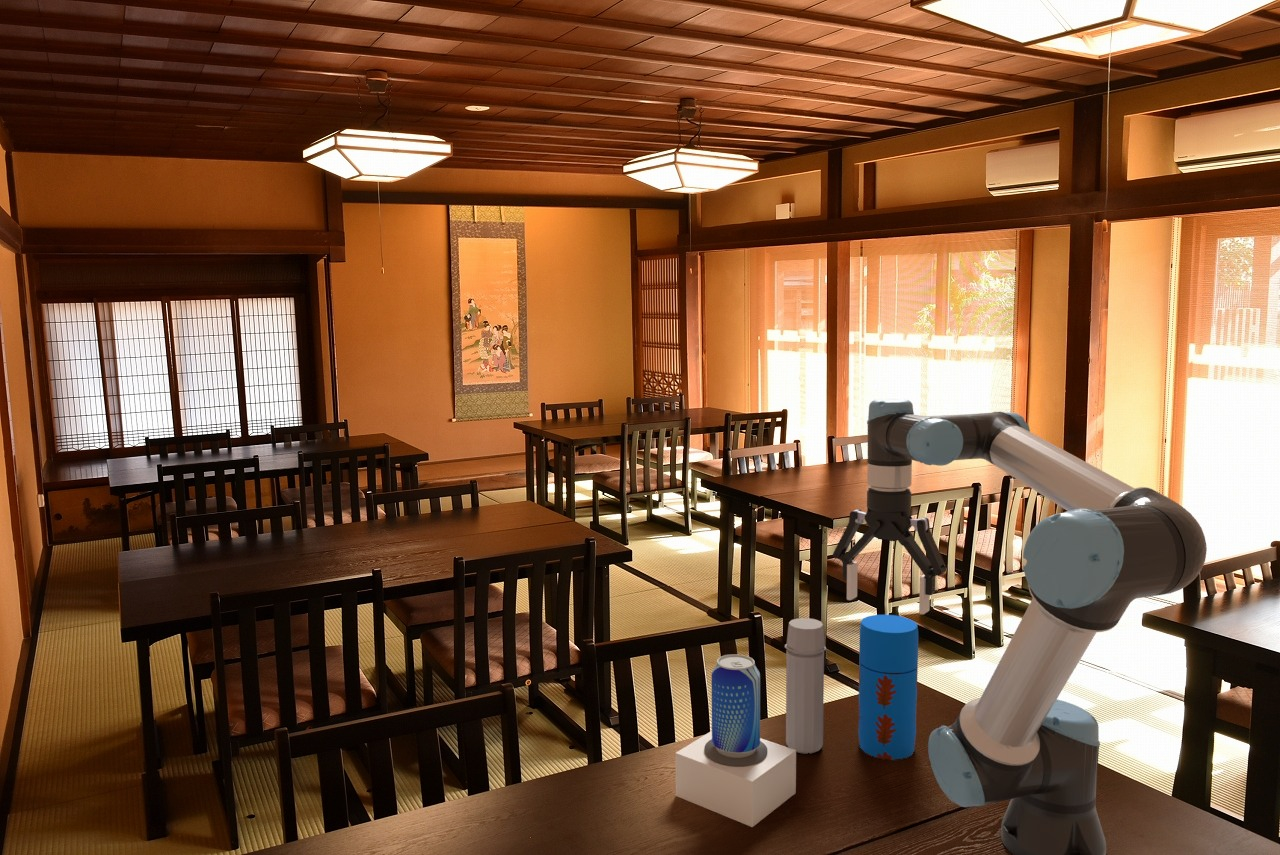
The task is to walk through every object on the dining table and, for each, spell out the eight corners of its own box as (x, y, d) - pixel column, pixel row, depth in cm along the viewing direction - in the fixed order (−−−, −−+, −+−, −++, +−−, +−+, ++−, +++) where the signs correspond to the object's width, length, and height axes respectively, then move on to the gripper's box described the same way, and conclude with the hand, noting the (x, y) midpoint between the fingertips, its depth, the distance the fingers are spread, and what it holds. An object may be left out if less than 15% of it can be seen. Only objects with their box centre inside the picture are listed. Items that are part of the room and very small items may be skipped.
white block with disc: (795, 792, 163) (796, 747, 162) (752, 827, 152) (752, 778, 151) (721, 765, 173) (721, 722, 172) (675, 795, 163) (675, 750, 162)
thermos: (856, 756, 176) (858, 630, 173) (859, 731, 186) (861, 612, 183) (915, 763, 173) (918, 635, 170) (915, 738, 183) (918, 617, 180)
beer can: (704, 753, 160) (703, 665, 158) (722, 734, 167) (722, 649, 165) (749, 764, 156) (749, 673, 154) (766, 743, 163) (766, 656, 162)
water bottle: (824, 757, 176) (826, 631, 173) (783, 754, 177) (783, 628, 174) (824, 735, 185) (826, 615, 182) (785, 732, 186) (786, 613, 183)
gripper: (967, 491, 156) (964, 612, 159) (834, 477, 172) (833, 587, 174) (951, 498, 151) (948, 624, 153) (814, 483, 166) (814, 597, 169)
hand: (887, 605), depth 164 cm, fingers open, 13 cm apart
